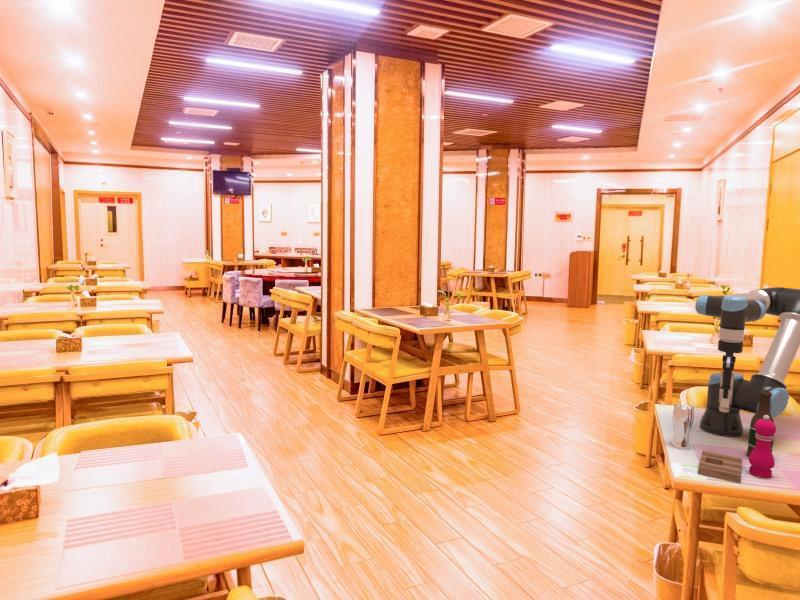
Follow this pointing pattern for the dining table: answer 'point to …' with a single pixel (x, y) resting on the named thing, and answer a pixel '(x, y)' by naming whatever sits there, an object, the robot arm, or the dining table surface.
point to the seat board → (720, 466)
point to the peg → (724, 409)
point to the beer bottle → (762, 410)
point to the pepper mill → (763, 449)
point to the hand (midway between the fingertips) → (724, 405)
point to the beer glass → (682, 425)
